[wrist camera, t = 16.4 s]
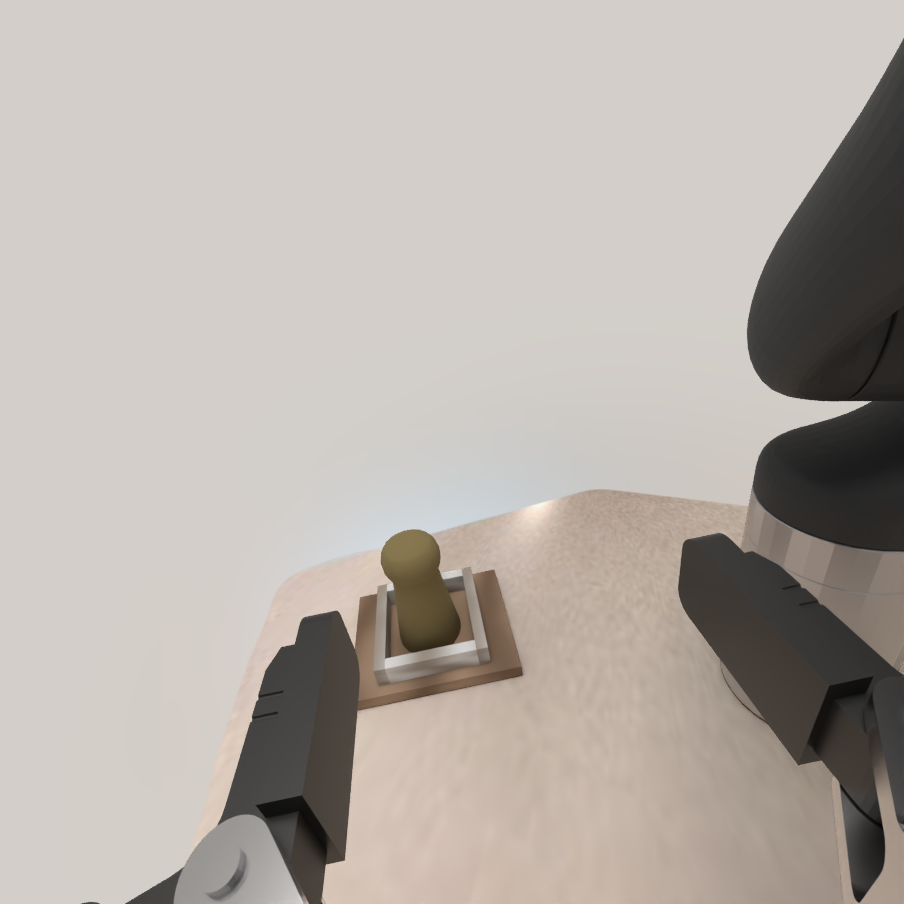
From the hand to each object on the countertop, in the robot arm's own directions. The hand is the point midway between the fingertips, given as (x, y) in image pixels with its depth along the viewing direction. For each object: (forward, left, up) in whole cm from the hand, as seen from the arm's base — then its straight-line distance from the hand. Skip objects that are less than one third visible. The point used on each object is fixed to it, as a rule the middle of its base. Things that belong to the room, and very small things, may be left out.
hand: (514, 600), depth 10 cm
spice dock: (+6, -23, -28) cm, 37 cm away
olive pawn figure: (+6, -23, -27) cm, 36 cm away
